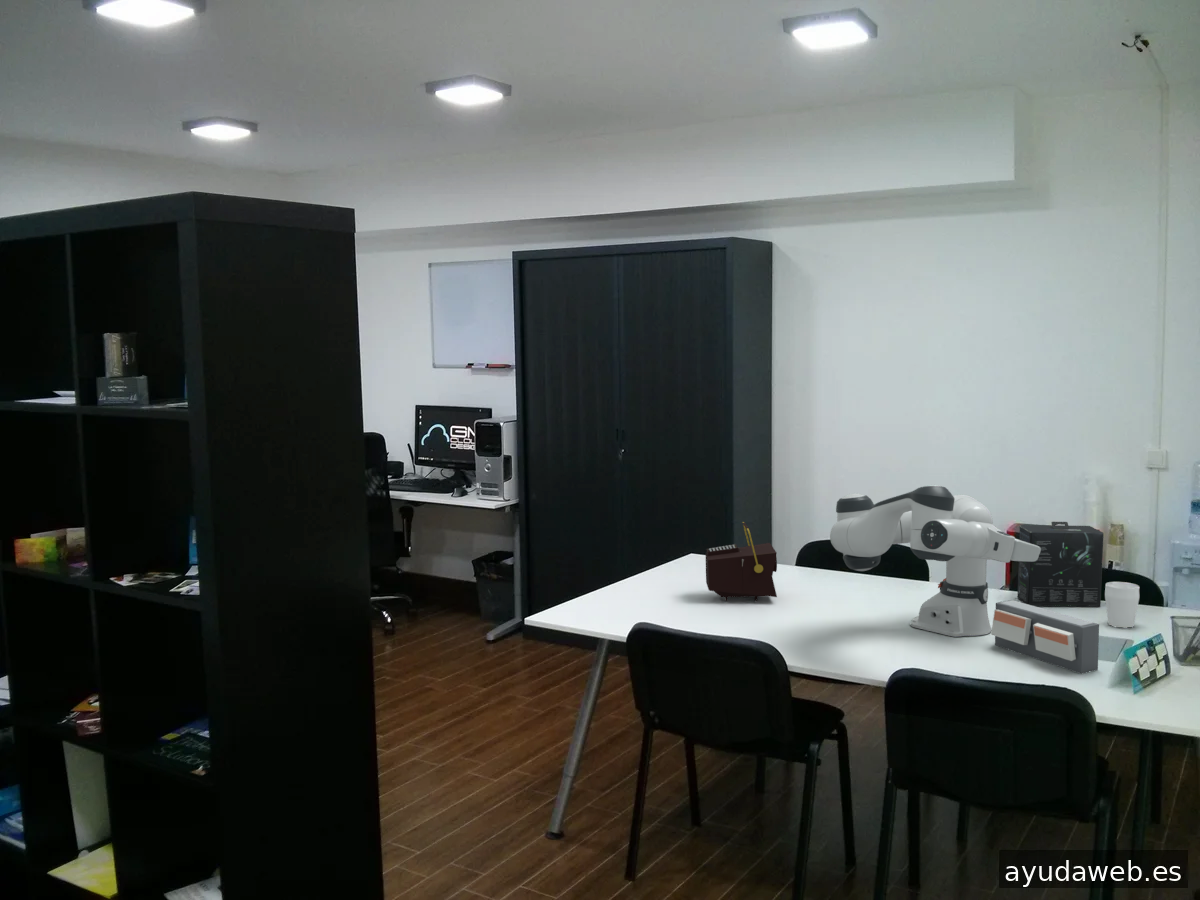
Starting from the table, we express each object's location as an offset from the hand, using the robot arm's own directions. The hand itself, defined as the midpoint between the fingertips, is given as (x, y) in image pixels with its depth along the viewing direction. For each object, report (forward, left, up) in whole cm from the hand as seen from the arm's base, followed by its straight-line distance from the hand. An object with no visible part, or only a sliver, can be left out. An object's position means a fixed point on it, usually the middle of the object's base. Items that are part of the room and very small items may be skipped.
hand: (1023, 545), depth 255 cm
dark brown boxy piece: (-98, +25, -34) cm, 107 cm away
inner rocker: (-9, +17, -30) cm, 35 cm away
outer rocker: (+5, +12, -30) cm, 33 cm away
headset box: (-13, +77, -34) cm, 85 cm away
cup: (+9, +61, -34) cm, 70 cm away
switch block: (+1, +22, -34) cm, 40 cm away
